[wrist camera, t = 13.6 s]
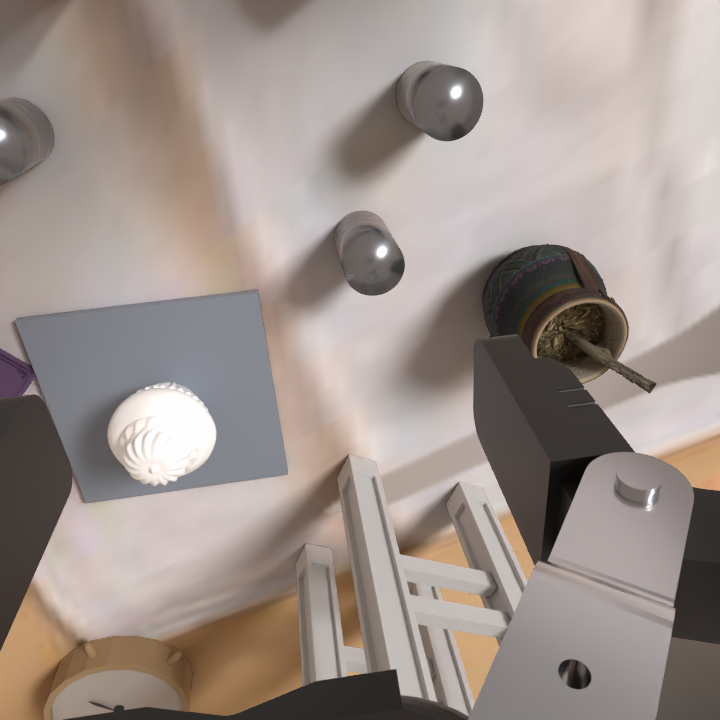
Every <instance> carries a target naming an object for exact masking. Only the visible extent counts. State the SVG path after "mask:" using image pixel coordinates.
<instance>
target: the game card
mask: <svg viewBox="0 0 720 720" xmlns="http://www.w3.org/2000/svg"><path fill="white" fill-rule="evenodd" d="M35 377H36V375H35V372H34V370H33V367H31V366H30V365H28V364H26V363H24V362H23V361H21V360H19V359H17V358H16V357H14V356H12V355H10V354H8V353H7V352H5V351H3V350H1V349H0V399H2V398H10V397H18V396H22V395H23V394H24V392H25V391H26V389H27V388H28V387H29V385H30V384H31V382H32V381H33V379H34V378H35Z"/></svg>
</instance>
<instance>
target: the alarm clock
mask: <svg viewBox="0 0 720 720" xmlns="http://www.w3.org/2000/svg"><path fill="white" fill-rule="evenodd" d="M191 683H192V670H191V667H190V665H189V663H188V660H187V659H186V658H185V657H184V656H183V655H182V652H181V651H177V650H176V649H175V648H173V647H171V646H169V645H167V644H165V643H163V642H160V641H158V640H154V639H149V638H144V637H140V636H112V637H107V638H102V639H97V640H92V641H90V642H86V643H85V644H84V645H81V646H79V647H77V648H75V649H73V650H72V651H71V652H70V653H69V654H68V655H67V656H66V657H65V658H64V659H63V660H62V661H61V662H60V665H59V667H58V669H57V671H56V673H55V676H54V681H53V684H52V687H51V690H50V693H49V696H48V699H47V701H46V703H45V706H44V709H43V713H44V720H63V719H69V718H76V717H82V716H89V715H96V714H102V713H109V712H115V711H122V710H129V709H135V708H142V707H152V708H160V709H169V710H177V711H185V712H189V702H190V701H189V696H190V690H191Z"/></svg>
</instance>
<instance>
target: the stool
mask: <svg viewBox="0 0 720 720" xmlns="http://www.w3.org/2000/svg"><path fill="white" fill-rule="evenodd" d="M337 481H338V487H339V493H340V500H341V506H342V513H343V519H344V525H345V532H346V538H347V544H348V551H349V557H350V563H351V570H352V576H353V583H354V589H355V595H356V602H357V608H358V614H359V621H360V627H361V634H362V640H363V646H364V649H362V648H355V647H349V646H344V644H343V636H342V628H341V620H340V612H339V604H338V596H337V588H336V580H335V572H334V564H333V556H332V549H330V548H325V547H321V546H316V545H311V544H305V546H304V548H303V550H302V552H301V554H300V556H299V558H298V560H297V562H296V580H297V599H298V617H299V635H300V653H301V671H302V687H303V686H305V685H308V684H310V683H313V682H315V681H320V680H327V679H333V678H340V677H346V676H348V675H347V671H350V672H357V673H365V674H366V673H373V672H379V671H386V670H393V669H396V670H397V676H398V682H399V688H400V694H401V695H405V696H413V697H419V698H423V699H427V700H431V701H435V702H438V703H441V704H443V705H446V706H448V707H451V708H453V709H456V710H458V711H460V712H462V713H463V714H465V715H467V716H470V714H471V712H472V709H473V707H474V705H475V703H474V699H473V696H472V693H471V690H470V686H469V683H468V680H467V677H466V673H465V670H464V667H463V664H462V660H461V657H460V654H459V651H458V647H457V644H456V641H455V638H454V634H453V631H452V630H455V631H461V632H467V633H473V634H479V635H485V636H491V637H496V639H497V642H498V644H499V647H500V645H501V642H502V640H503V638H504V635H505V633H506V631H507V628H508V626H509V624H510V621H511V619H512V617H513V615H514V612H515V610H516V608H517V605H518V603H519V601H520V598H521V596H522V594H523V591H524V589H525V587H526V585H527V580H526V578H525V576H524V573H523V571H522V569H521V567H520V565H519V563H518V561H517V558H516V556H515V554H514V552H513V550H512V548H511V546H510V544H509V541H508V539H507V537H506V535H505V533H504V531H503V529H502V527H501V524H500V522H499V520H498V518H497V516H496V514H495V512H494V509H493V507H492V505H491V503H490V501H489V499H488V497H487V495H486V492H485V490H484V488H481V487H477V486H473V485H469V484H465V483H462V482H459V483H458V485H457V486H456V488H455V490H454V491H453V493H452V495H451V496H450V498H449V500H448V501H447V503H446V506H447V508H448V511H449V514H450V516H451V519H452V522H453V524H454V527H455V530H456V532H457V535H458V538H459V540H460V543H461V546H462V548H463V551H464V554H465V556H466V559H467V562H468V564H469V567H470V568H465V567H460V566H456V565H451V564H446V563H441V562H436V561H431V560H426V559H421V558H416V557H411V556H406V555H401V554H400V553H399V549H398V545H397V541H396V537H395V533H394V529H393V525H392V521H391V517H390V513H389V509H388V505H387V501H386V497H385V493H384V490H383V486H382V482H381V478H380V474H379V470H378V466H377V462H376V461H373V460H369V459H365V458H361V457H357V456H353V455H348V457H347V459H346V462H345V464H344V466H343V468H342V470H341V472H340V474H339V476H338V478H337ZM439 587H440V588H445V589H450V590H456V591H461V592H466V593H472V594H477V595H480V596H481V599H482V602H483V604H484V607H485V608H481V607H475V606H470V605H464V604H459V603H453V602H448V601H443V599H442V595H441V592H440V589H439Z"/></svg>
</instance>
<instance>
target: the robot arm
mask: <svg viewBox="0 0 720 720" xmlns="http://www.w3.org/2000/svg"><path fill="white" fill-rule="evenodd" d="M473 410H474V420H475V426H476V431H477V434H478V438H479V440H480V443H481V445H482V447H483V449H484V452H485V454H486V456H487V459H488V461H489V463H490V465H491V468H492V470H493V472H494V474H495V477H496V479H497V481H498V483H499V486H500V488H501V490H502V493H503V495H504V497H505V499H506V502H507V504H508V506H509V508H510V511H511V513H512V515H513V517H514V520H515V522H516V524H517V527H518V529H519V531H520V533H521V536H522V538H523V540H524V542H525V545H526V547H527V549H528V551H529V554H530V556H531V558H532V561H533V563H534V565H535V567H534V569H533V571H532V573H531V575H530V578H529V580H528V582H527V585H526V587H525V589H524V591H523V594H522V596H521V598H520V601H519V603H518V605H517V608H516V610H515V612H514V615H513V617H512V619H511V621H510V624H509V626H508V628H507V631H506V633H505V635H504V638H503V640H502V642H501V645H500V647H499V649H498V652H497V654H496V656H495V658H494V661H493V663H492V665H491V668H490V670H489V672H488V675H487V677H486V679H485V682H484V684H483V686H482V688H481V691H480V693H479V695H478V698H477V700H476V702H475V705H474V707H473V709H472V712H471V714H470V716H467V715H465V714H463V713H462V712H460V711H458V710H456V709H453V708H451V707H448V706H446V705H443V704H441V703H438V702H435V701H431V700H427V699H423V698H419V697H413V696H405V695H401V694H400V688H399V682H398V676H397V670H396V669H393V670H386V671H379V672H373V673H366V674H360V675H353V676H346V677H340V678H333V679H327V680H320V681H315V682H313V683H310V684H308V685H305V686H303V687H301V688H298V689H296V690H293V691H291V692H289V693H286V694H284V695H281V696H279V697H276V698H274V699H272V700H269V701H267V702H264V703H262V704H260V705H257V706H255V707H252V708H250V709H248V710H245V711H243V712H240V713H238V714H235V715H230V716H219V715H210V714H202V713H194V712H185V711H177V710H169V709H160V708H152V707H142V708H135V709H129V710H122V711H115V712H109V713H102V714H96V715H89V716H82V717H76V718H69V719H63V720H655V718H656V713H657V708H658V703H659V697H660V692H661V687H662V681H663V676H664V671H665V666H666V660H667V655H668V650H669V644H670V639H671V637H676V638H682V639H689V640H696V641H702V642H708V643H716V644H720V491H716V490H706V489H699V488H694V487H692V486H691V484H690V482H689V481H688V480H687V478H686V477H685V476H684V475H683V474H682V473H681V472H680V471H679V470H677V469H676V468H674V467H673V466H672V465H670V464H668V463H666V462H664V461H662V460H660V459H657V458H655V457H652V456H648V455H645V454H640V453H635V452H634V450H633V449H632V448H631V447H630V445H629V444H628V443H627V441H626V440H625V439H624V438H623V436H622V435H621V434H620V432H619V431H618V430H617V428H616V427H615V426H614V425H613V423H612V422H611V421H610V419H609V418H608V417H607V416H606V414H605V413H604V412H603V410H602V409H601V408H600V407H599V405H598V404H597V405H596V404H595V400H594V399H593V398H592V396H591V395H590V394H589V392H588V391H587V390H584V386H583V385H582V383H581V382H580V381H579V380H578V378H577V377H576V376H575V374H574V373H573V372H572V370H571V369H569V368H567V367H565V366H564V365H562V364H560V363H559V362H557V361H555V360H554V359H552V358H550V357H541V358H534V357H533V355H532V354H531V352H530V351H529V350H528V348H527V347H526V345H525V344H524V342H523V341H522V340H521V338H520V337H519V336H518V335H516V334H514V335H506V336H498V337H490V338H483V339H477V340H476V342H475V347H474V398H473ZM71 487H72V469H71V464H70V461H69V458H68V456H67V454H66V451H65V449H64V447H63V444H62V442H61V440H60V437H59V435H58V433H57V431H56V428H55V426H54V424H53V421H52V419H51V417H50V414H49V412H48V410H47V407H46V405H45V403H44V402H43V400H42V399H41V398H40V397H39V396H37V395H26V396H18V397H10V398H2V399H0V651H1V648H2V646H3V644H4V642H5V639H6V637H7V635H8V632H9V630H10V628H11V626H12V623H13V621H14V619H15V617H16V614H17V612H18V610H19V608H20V605H21V603H22V601H23V599H24V596H25V594H26V592H27V590H28V587H29V585H30V583H31V580H32V578H33V576H34V574H35V571H36V569H37V567H38V565H39V562H40V560H41V558H42V556H43V553H44V551H45V549H46V547H47V544H48V542H49V540H50V538H51V535H52V533H53V531H54V528H55V526H56V524H57V522H58V519H59V517H60V515H61V513H62V510H63V508H64V506H65V504H66V501H67V499H68V497H69V494H70V491H71Z"/></svg>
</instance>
